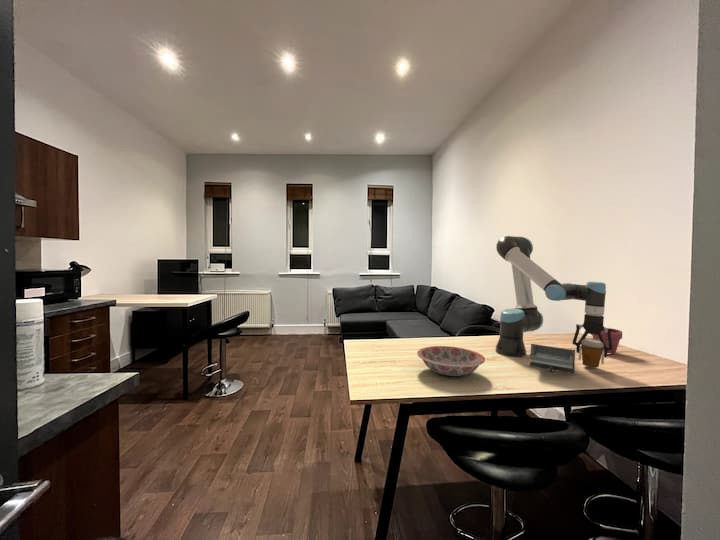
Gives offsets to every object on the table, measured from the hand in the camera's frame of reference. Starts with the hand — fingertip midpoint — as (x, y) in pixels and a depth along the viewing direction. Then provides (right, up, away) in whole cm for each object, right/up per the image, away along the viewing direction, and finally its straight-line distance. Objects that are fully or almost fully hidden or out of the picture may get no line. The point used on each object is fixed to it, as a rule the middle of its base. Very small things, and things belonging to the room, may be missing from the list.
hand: (590, 361), depth 158 cm
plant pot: (+27, -3, +28) cm, 39 cm away
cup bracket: (-23, -3, -7) cm, 24 cm away
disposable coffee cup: (0, -2, 0) cm, 2 cm away
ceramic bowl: (-70, -2, -10) cm, 71 cm away
